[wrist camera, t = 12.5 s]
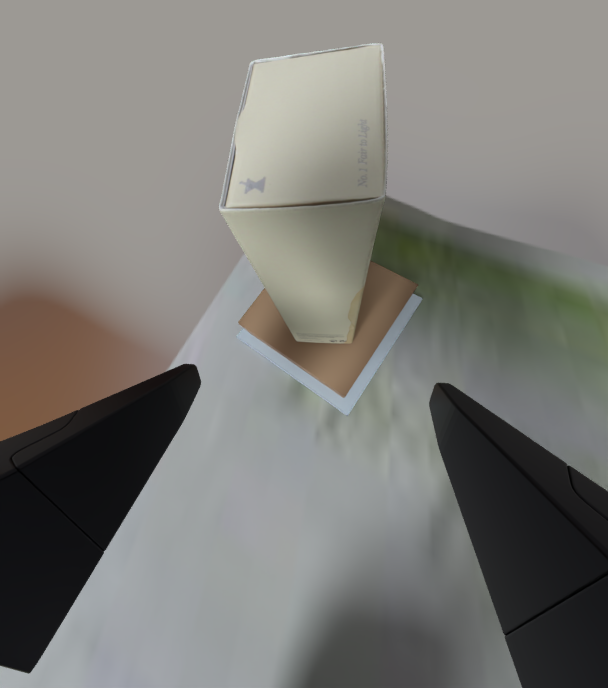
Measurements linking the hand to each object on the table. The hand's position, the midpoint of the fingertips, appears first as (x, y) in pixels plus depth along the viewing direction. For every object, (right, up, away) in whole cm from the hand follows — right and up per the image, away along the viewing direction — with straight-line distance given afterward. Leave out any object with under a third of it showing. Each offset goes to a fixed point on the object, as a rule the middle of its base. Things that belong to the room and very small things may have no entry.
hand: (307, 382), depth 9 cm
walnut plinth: (+2, +4, +12) cm, 13 cm away
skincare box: (+1, +4, +9) cm, 11 cm away
